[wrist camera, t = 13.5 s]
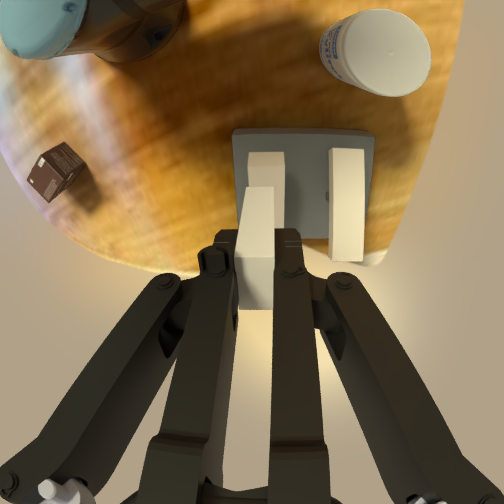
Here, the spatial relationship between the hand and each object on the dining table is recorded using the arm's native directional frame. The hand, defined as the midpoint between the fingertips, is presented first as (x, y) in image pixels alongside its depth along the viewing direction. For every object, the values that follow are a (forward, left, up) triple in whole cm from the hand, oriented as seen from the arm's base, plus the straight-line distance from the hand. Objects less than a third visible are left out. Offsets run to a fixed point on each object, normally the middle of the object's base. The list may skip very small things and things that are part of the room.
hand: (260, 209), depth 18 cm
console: (+5, -10, -28) cm, 30 cm away
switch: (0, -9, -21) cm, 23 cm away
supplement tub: (+12, +10, -29) cm, 33 cm away
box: (-34, -4, -29) cm, 45 cm away
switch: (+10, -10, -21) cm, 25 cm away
